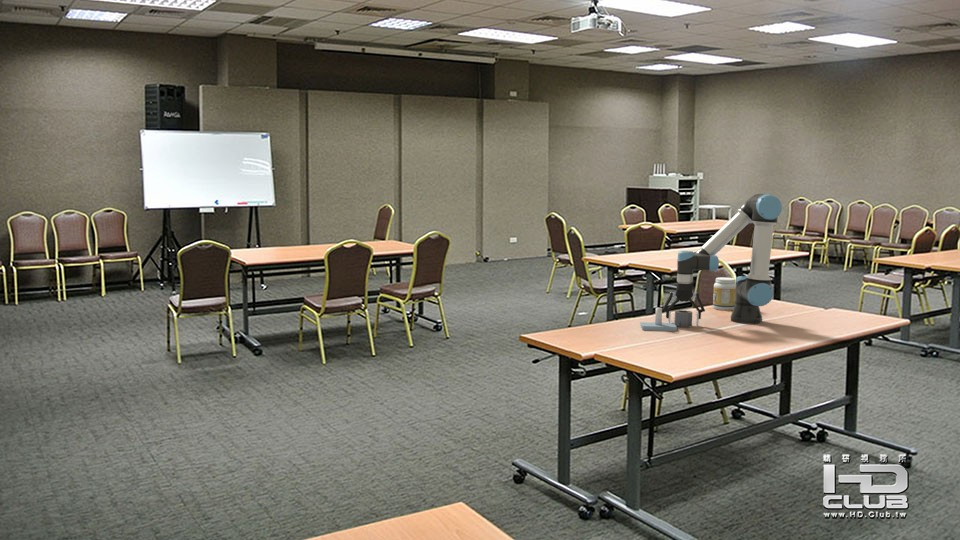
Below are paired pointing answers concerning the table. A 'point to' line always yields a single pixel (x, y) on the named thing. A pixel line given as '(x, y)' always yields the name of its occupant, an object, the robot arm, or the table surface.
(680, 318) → the cylinder
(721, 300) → the supplement tub
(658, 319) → the shaft block
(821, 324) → the table surface
